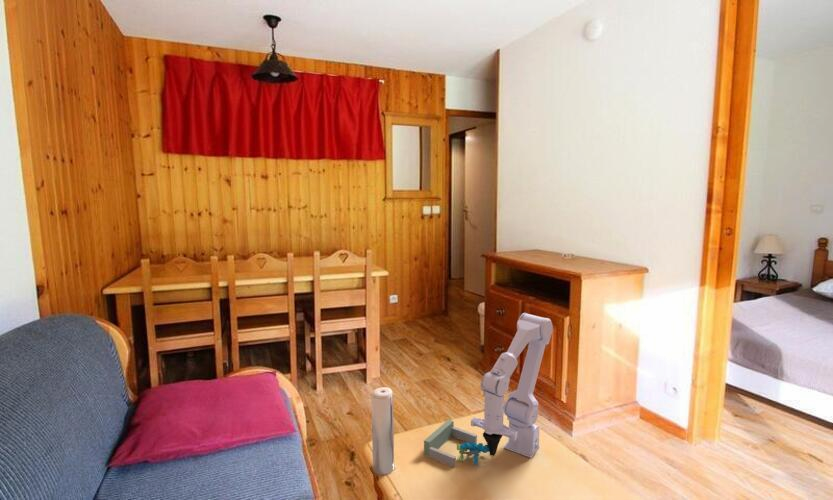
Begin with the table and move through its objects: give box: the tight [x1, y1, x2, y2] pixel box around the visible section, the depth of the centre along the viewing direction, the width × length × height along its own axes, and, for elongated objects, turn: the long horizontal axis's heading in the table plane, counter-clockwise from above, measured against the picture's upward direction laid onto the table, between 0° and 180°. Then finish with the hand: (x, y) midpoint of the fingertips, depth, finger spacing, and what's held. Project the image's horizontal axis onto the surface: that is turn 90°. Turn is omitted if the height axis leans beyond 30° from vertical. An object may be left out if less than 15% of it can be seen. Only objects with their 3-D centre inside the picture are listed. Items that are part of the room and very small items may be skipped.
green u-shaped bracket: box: [423, 419, 478, 468], centre depth 138 cm, size 11×15×5 cm
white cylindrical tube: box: [370, 386, 395, 476], centre depth 127 cm, size 6×6×25 cm
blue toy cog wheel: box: [456, 441, 490, 466], centre depth 132 cm, size 11×6×10 cm
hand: (493, 453), depth 129 cm, fingers closed
